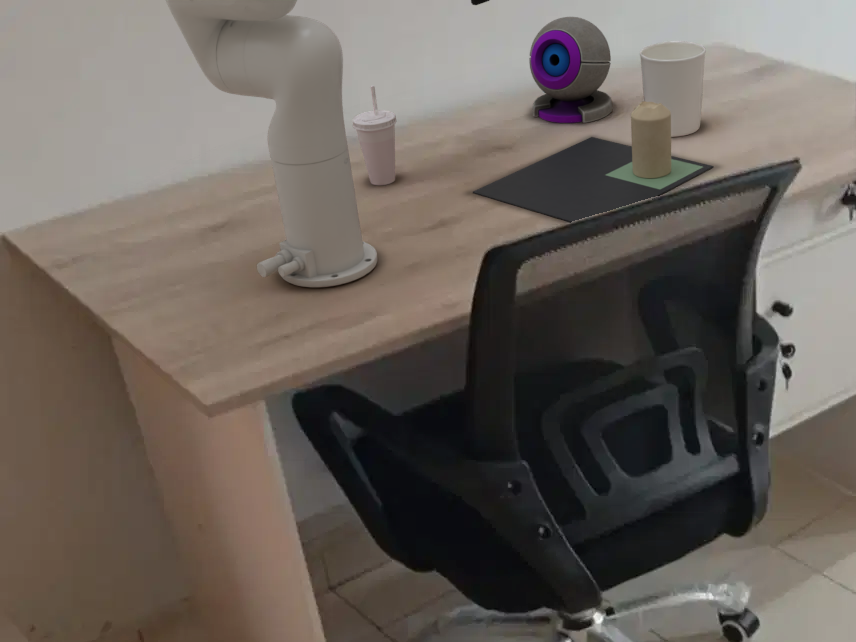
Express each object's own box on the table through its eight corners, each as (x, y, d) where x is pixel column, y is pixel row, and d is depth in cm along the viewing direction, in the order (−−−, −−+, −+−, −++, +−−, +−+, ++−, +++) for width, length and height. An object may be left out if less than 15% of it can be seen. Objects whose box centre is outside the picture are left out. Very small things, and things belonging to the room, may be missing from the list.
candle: (677, 167, 179) (677, 98, 173) (661, 180, 175) (660, 111, 169) (643, 162, 181) (641, 95, 176) (626, 176, 177) (623, 107, 172)
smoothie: (413, 177, 184) (401, 84, 177) (381, 191, 181) (367, 97, 173) (384, 169, 188) (371, 77, 181) (352, 183, 185) (337, 90, 177)
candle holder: (703, 138, 188) (703, 59, 182) (638, 139, 190) (636, 61, 184) (707, 116, 196) (707, 40, 190) (644, 117, 198) (643, 41, 192)
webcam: (518, 119, 202) (511, 25, 194) (557, 95, 211) (552, 4, 203) (589, 128, 196) (585, 31, 188) (626, 102, 205) (623, 9, 197)
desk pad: (594, 229, 163) (594, 228, 163) (472, 192, 177) (472, 191, 177) (713, 167, 178) (713, 165, 178) (591, 137, 192) (591, 136, 192)
